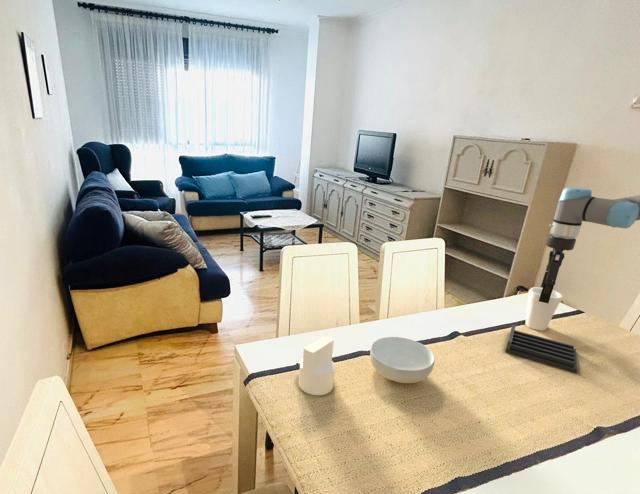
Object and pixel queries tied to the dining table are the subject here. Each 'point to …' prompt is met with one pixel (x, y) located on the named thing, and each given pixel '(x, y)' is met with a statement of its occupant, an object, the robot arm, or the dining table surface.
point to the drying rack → (542, 350)
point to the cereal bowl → (401, 359)
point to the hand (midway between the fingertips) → (544, 295)
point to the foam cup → (540, 309)
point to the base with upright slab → (317, 367)
